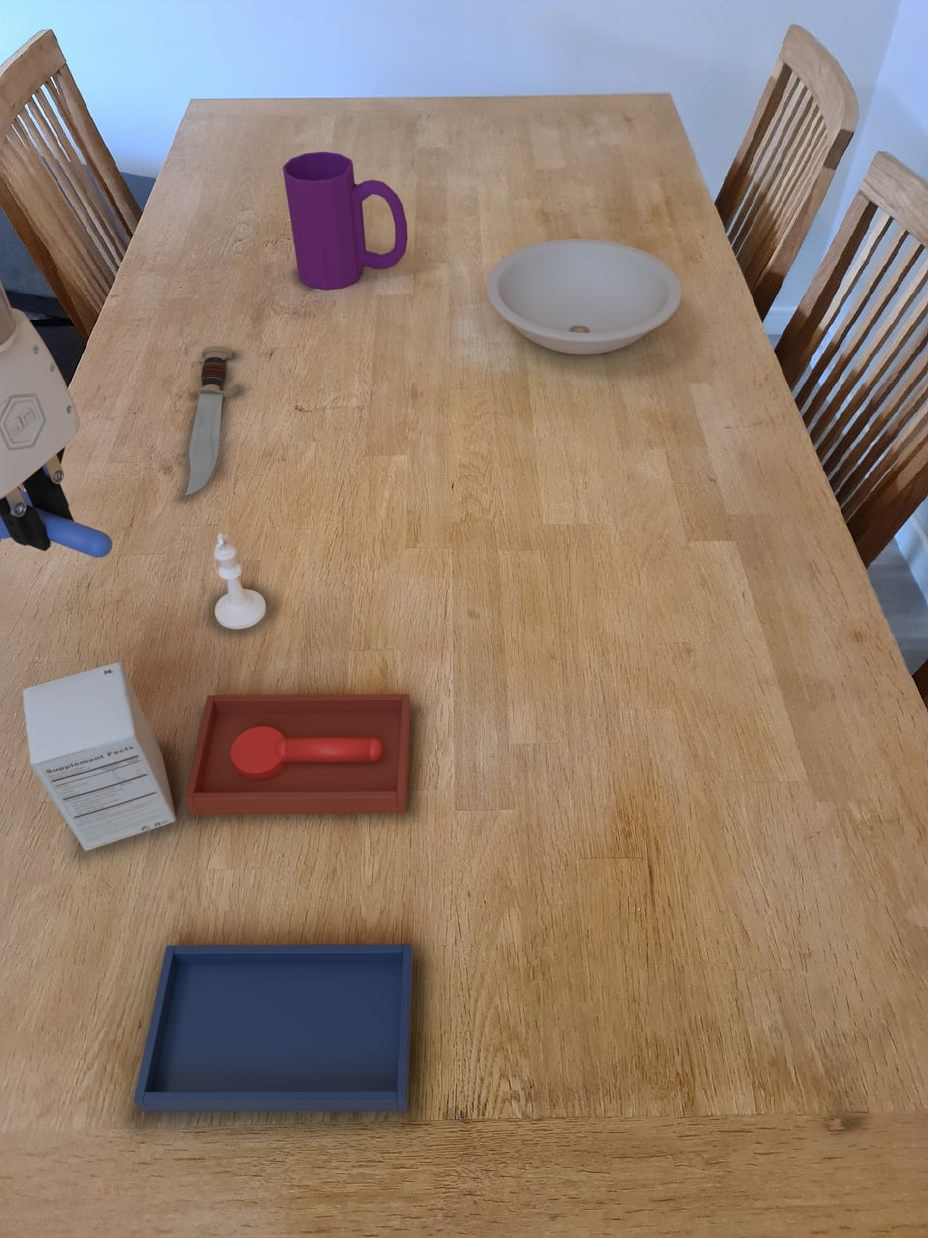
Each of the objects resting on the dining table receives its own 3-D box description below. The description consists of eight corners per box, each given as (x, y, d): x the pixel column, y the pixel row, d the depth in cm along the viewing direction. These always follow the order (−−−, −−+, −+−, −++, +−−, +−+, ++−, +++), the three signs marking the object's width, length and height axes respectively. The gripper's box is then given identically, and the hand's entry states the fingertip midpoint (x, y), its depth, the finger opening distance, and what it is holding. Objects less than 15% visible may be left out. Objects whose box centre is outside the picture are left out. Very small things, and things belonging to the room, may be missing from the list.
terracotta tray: (191, 816, 78) (184, 799, 76) (213, 713, 85) (207, 695, 83) (406, 814, 78) (404, 797, 76) (410, 711, 84) (409, 693, 83)
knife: (220, 492, 103) (172, 489, 103) (221, 503, 104) (173, 500, 104) (244, 346, 121) (203, 343, 120) (244, 357, 122) (203, 354, 121)
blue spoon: (131, 538, 75) (124, 519, 73) (92, 577, 72) (84, 558, 71) (6, 493, 79) (-3, 474, 77) (-35, 529, 76) (-46, 509, 74)
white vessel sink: (462, 369, 119) (461, 321, 114) (513, 273, 134) (514, 227, 130) (656, 401, 114) (664, 352, 109) (687, 298, 129) (695, 251, 125)
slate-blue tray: (143, 1114, 63) (133, 1102, 61) (175, 960, 70) (166, 945, 68) (408, 1113, 63) (406, 1101, 61) (413, 959, 70) (411, 943, 68)
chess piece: (206, 626, 91) (182, 550, 84) (227, 589, 95) (206, 512, 87) (255, 635, 91) (235, 559, 83) (275, 598, 94) (257, 521, 86)
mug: (303, 258, 138) (288, 150, 127) (412, 259, 137) (406, 151, 126) (293, 292, 132) (276, 181, 121) (407, 293, 131) (400, 182, 120)
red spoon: (386, 733, 82) (384, 719, 81) (383, 780, 79) (381, 766, 77) (237, 734, 82) (233, 720, 81) (228, 781, 79) (224, 767, 78)
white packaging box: (73, 780, 80) (19, 685, 71) (163, 753, 82) (122, 657, 72) (83, 855, 76) (26, 765, 66) (178, 825, 77) (137, 733, 68)
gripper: (-104, 402, 56) (11, 617, 70) (79, 274, 65) (148, 485, 79) (-197, 371, 58) (-68, 585, 72) (-6, 252, 68) (75, 461, 81)
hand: (45, 531), depth 75 cm, fingers closed on blue spoon, 2 cm apart
